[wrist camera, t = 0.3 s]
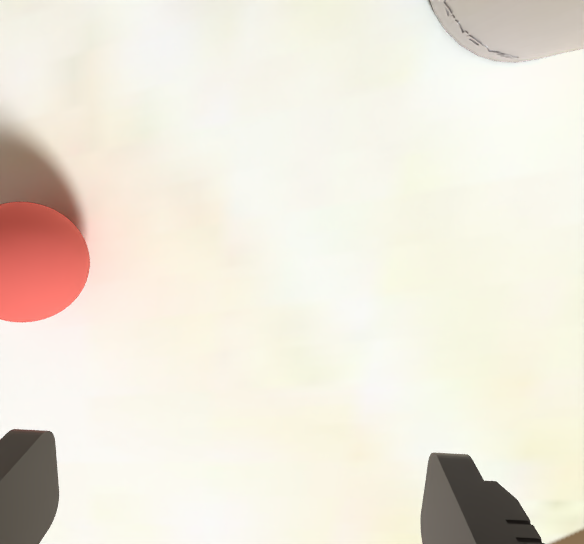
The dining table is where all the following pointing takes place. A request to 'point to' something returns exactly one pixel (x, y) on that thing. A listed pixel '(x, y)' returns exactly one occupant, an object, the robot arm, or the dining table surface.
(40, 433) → the robot arm
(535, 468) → the dining table surface
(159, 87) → the dining table surface
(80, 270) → the ball
